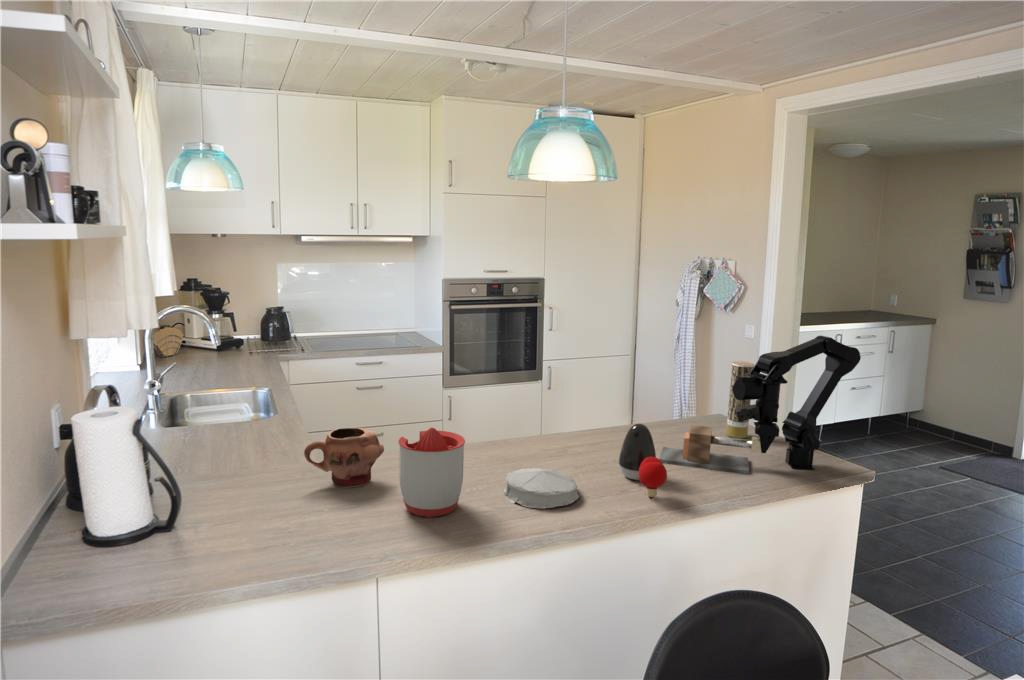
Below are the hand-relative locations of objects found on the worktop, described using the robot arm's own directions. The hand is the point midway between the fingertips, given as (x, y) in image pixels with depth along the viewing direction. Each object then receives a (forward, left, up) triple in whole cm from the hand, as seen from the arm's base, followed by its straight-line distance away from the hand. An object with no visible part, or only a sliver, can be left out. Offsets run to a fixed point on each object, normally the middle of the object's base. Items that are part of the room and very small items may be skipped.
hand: (763, 451), depth 193 cm
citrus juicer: (+90, +38, -6) cm, 99 cm away
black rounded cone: (+37, +11, -6) cm, 40 cm away
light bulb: (+35, +25, -6) cm, 44 cm away
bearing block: (+16, -4, -6) cm, 17 cm away
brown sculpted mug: (+114, +26, -6) cm, 118 cm away
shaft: (+9, -2, 0) cm, 9 cm away
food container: (+64, +27, -6) cm, 69 cm away
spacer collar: (+21, -6, -4) cm, 22 cm away
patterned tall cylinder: (-2, -32, -6) cm, 32 cm away
